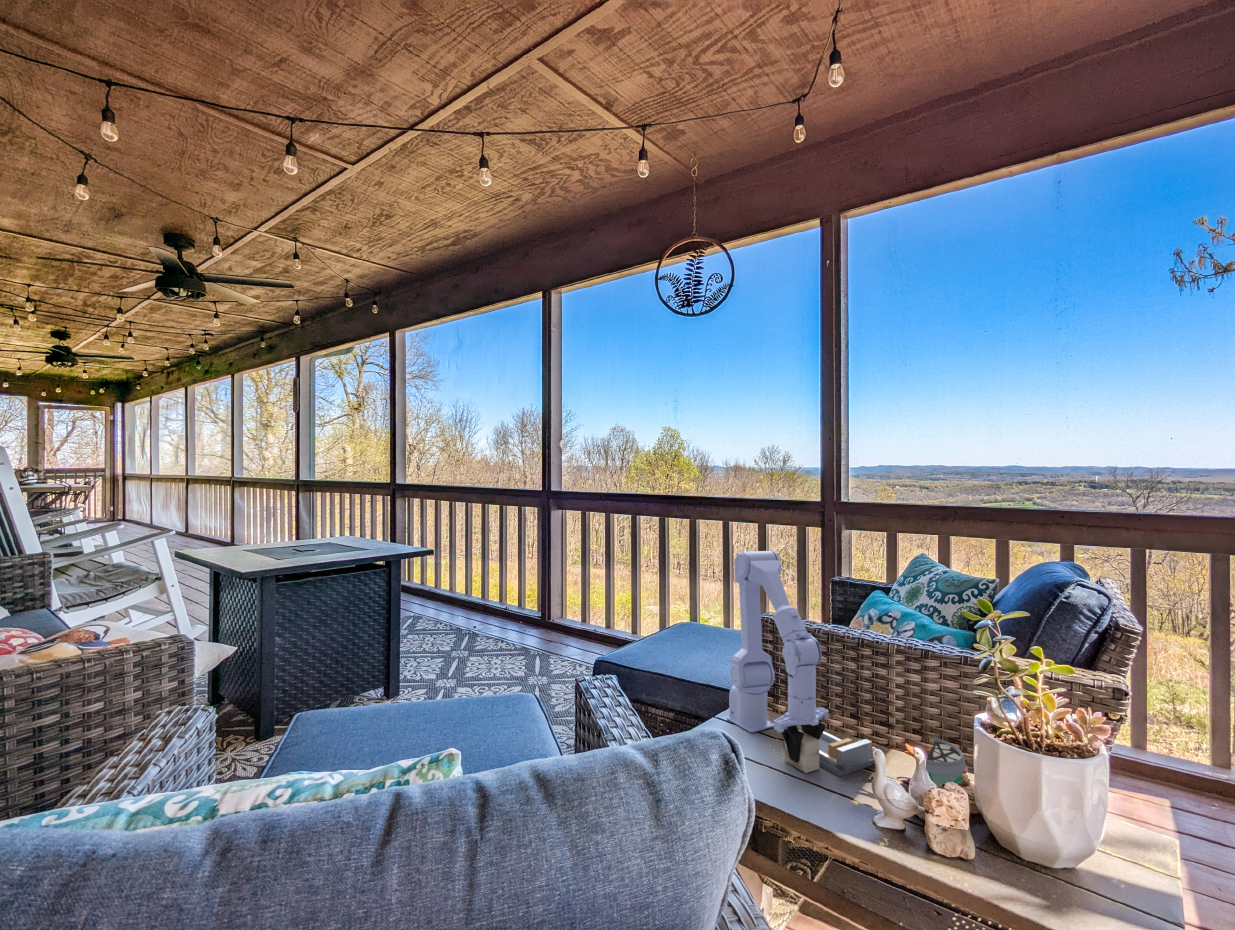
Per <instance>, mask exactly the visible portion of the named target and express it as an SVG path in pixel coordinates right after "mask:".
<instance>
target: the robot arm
mask: <svg viewBox="0 0 1235 930" xmlns="http://www.w3.org/2000/svg"><path fill="white" fill-rule="evenodd" d="M733 564H734V578H735V579H734V581H735V583H737V584H738V588H739V590H738V591H739V592H738V593H739V610H740V612H739V613H740V633H741V648H740V649H739V650H738V651H737V652H736V653H735V654H734V655H733V656H732V657H731V667H730V673H729V674H730V679H731V682H732V684H733V685H732V686H731V688H730V689H729V692H728V693H729V694H728V695H729V696H728V698H729V699H728V700H729V701H728V705H729V706H728V708H729V709H728V716H726V720H728V721H730V722H732V723H733V724H735V725H736V726H738V727H740V728H741V729H744V730H745V731H747V732H749V733H756V732H760V731H762V730H766V729H767V730H768V729H770V728H773V729H774V730H775V731H776V732H779V733H781V736H782V738H783V739H784V740H785V743H786V746H787V749H788V753H789V758H790V759H791V760H793V761H794V762H796V763H797V762H799V759H800V747H801V742H802V739H803V736H804V733H806V734H808V735H810V736H812V737H814V738H816V739H818V740H819V739H820V737H821V735H822V733H823V731H824V732H825V730H826V724H824V723H823V722H822V721H821V720H829V719H830V717H829V714H830V713H829V712H830V711H829V709H826V708H825V707H822V706H820V707H817V702H816V701H817V700H816V699H817V698H816V696H817V691H816V690H817V685H816V684H817V683H816V682H817V678H816V677H817V669H816V665H819V664H821V661H822V657H823V655H822V649H821V645H820V642H819V640H817V638H815V637H814V636H813V635H812V633H810V632H808V630H807V628H806V626H805V624H804V622H803V620H802V617H801V616H800V613H799V610H798V609H797V608H795V607H793V606H791V605H790V602H789V599H788V596H787V593H786V590H785V588H784V584H783V581H782V579H781V571H782V562H781V558H780V556H779V554H778V553H777V552H776V551H775V550H772V549H771V550H762V551H761V550H760V551H758V550H757V551H756V550H755V551H754V550H753V551H745V550H741V551H739V552H738V553H737V554H736V556H735V558H734V563H733ZM761 587H762V588H763V590H764V593H765V594H766V595H767V597H768V599H769V602H770V603H771V606H772V607H773V609H774V611H775V612H774V614H773V621H774V623H775V626H776V628H777V630H778V633H779V635H780V639H781V640H782V643H783V647H782V656H783V660H784V662H785V671H786V673H787V686H788V687H787V709H788V710H787V712H786V713H784V714H783V715H781V716H780V717H778V718H777V719H774V720H773V722H771V721H769V720H768V691H770V690H771V689H770V688H771V686H773V685H774V682H775V679H776V678H775V677H776V675H775V669H774V667H773V661H772V660H773V659H772V656H770V655H769V654H768V653H767V652H765V651H764V649H763V636H762V635H763V631H762V630H763V629H762V615H761V614H762V612H761V593H760V591H761V590H760V588H761ZM798 726H800V727H801V730H800V731H802V732H804V733H802V732H800V731H798V730H799V727H798ZM784 740H783V741H784Z"/></svg>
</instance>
